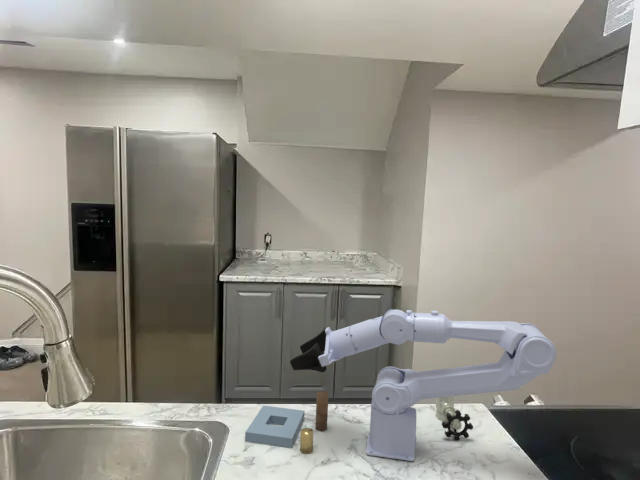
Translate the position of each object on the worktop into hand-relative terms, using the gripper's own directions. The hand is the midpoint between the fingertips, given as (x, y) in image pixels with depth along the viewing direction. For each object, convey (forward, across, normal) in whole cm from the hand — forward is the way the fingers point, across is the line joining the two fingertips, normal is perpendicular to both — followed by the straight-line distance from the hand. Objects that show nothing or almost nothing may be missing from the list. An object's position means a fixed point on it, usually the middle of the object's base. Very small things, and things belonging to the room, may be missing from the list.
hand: (297, 357), depth 90 cm
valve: (-23, -11, +30) cm, 39 cm away
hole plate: (+10, +2, +13) cm, 17 cm away
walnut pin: (+2, -1, +17) cm, 18 cm away
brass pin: (+3, +8, +16) cm, 18 cm away
